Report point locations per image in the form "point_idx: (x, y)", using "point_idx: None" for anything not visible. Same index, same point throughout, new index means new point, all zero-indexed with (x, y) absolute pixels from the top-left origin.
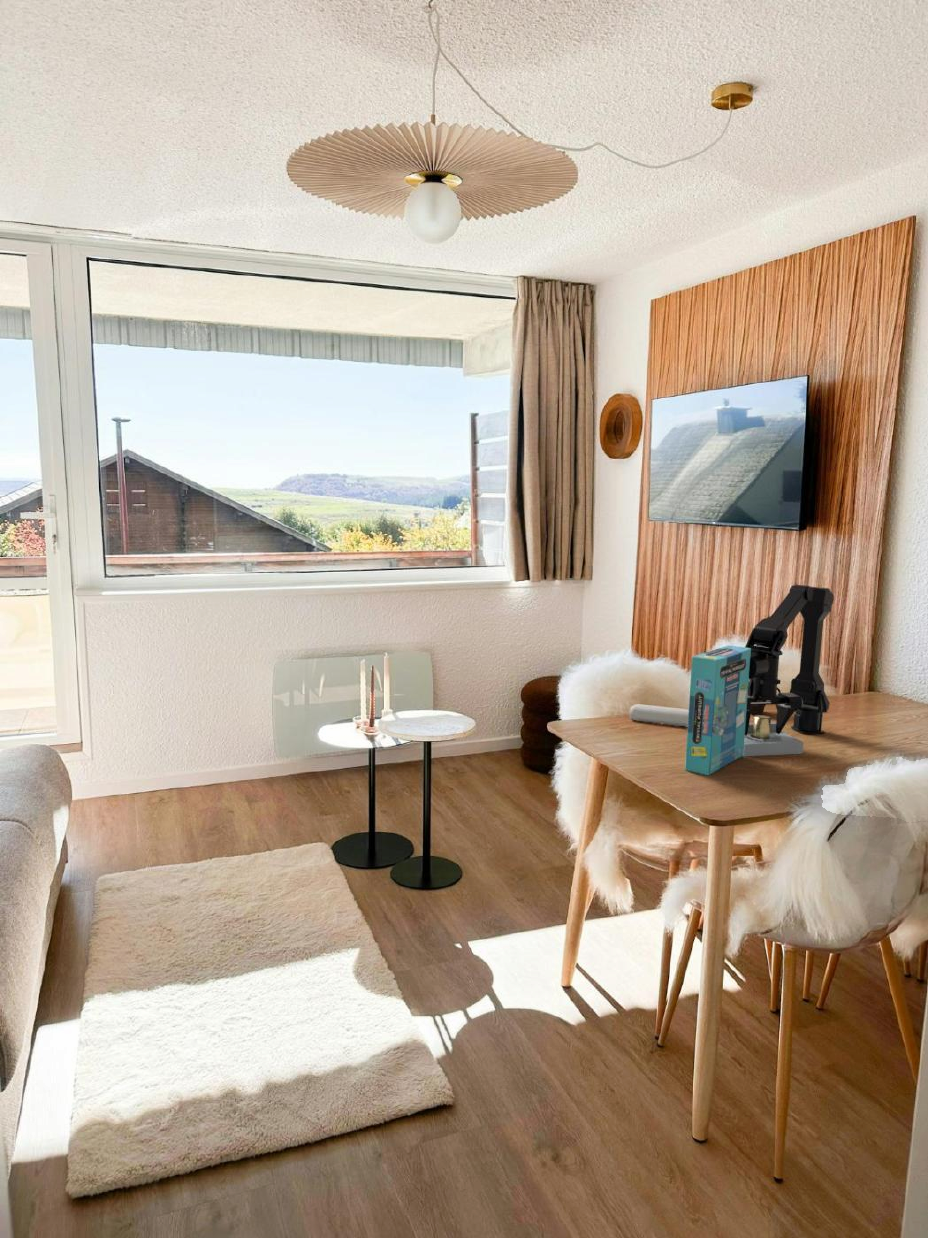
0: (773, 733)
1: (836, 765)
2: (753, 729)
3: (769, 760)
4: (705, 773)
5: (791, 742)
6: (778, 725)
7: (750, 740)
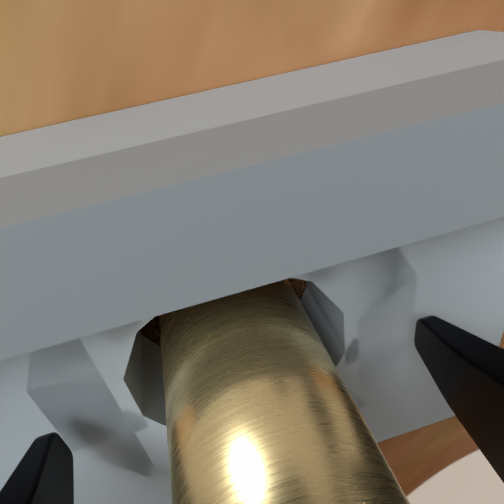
0: (419, 245)
1: (456, 447)
2: (167, 426)
3: None
4: None
5: (399, 434)
6: (476, 404)
7: (99, 483)
